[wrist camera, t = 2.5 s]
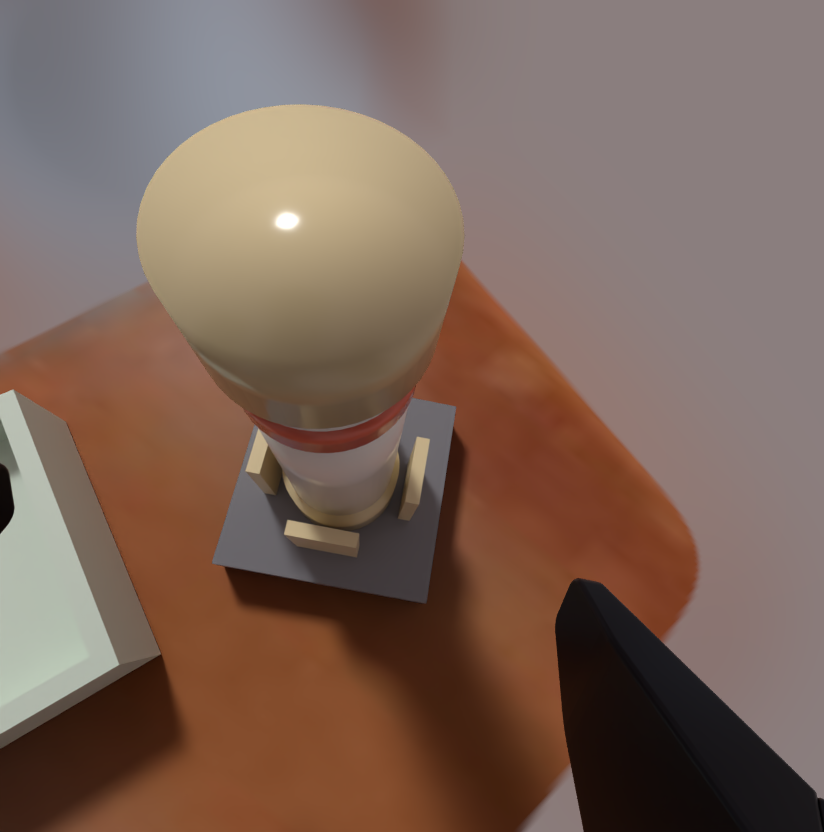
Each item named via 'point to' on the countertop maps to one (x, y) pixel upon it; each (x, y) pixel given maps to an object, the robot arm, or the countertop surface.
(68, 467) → the tray
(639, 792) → the robot arm
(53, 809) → the countertop surface
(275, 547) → the grey stand with brackets
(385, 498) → the white and tan post
